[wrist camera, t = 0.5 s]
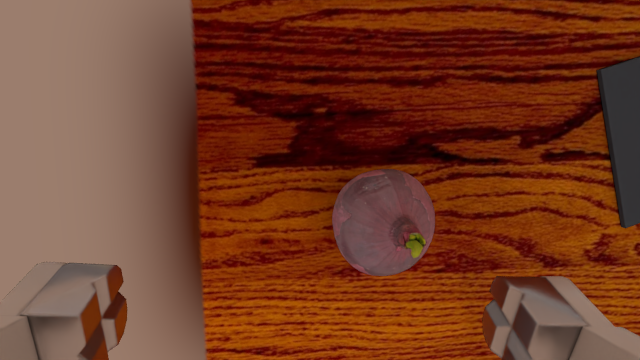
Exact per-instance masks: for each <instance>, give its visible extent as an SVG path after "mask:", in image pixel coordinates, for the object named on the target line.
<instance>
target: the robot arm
mask: <svg viewBox="0 0 640 360" xmlns="http://www.w3.org/2000/svg"><path fill="white" fill-rule="evenodd" d="M122 283H123V277H122V272H121V269H120V268H119V267H118V266H117V265H103V264H83V263H58V262H43V263H39V264H37V265H36V266H35V267H34V268H33V269H32V270H31V271H30V272H29V273H28V274H27V275H26V276H25V277H24V278H23V279H22V280H21V281H20V282H19V283H18V284H17V285H16V286H15V287H14V288H13V289H12V290H11V291H10V292H9V293H8V294H7V296H6V297H5V298H4V299H3V300H2V301H1V302H0V360H109V358H108V351H109V350H111V349H113V348H114V347H115V346H117V345H118V344H119V342H120V340H121V338H122V335H123V333H124V329H125V325H126V321H127V303H126V299H125V298H124V297H123V296H122V295H121V294H120V293H119V292H118V290H119V289H120V287H121V285H122ZM490 292H491V294H492V296H493V298H494V300H492V301H491V302H490V303H489V304H488V305H487V306H486V307H485V310H484V314H483V318H482V324H483V334H484V337H485V340H486V343H487V344H488V346H489V348H490V350H491V351H492V352H494V353H495V354H496V355H498V356H499V357H500V358H502V359H501V360H640V336H638V335H636V334H634V333H632V332H630V331H628V330H626V329H624V328H622V327H614V326H613V325H612V324H611V322H610V321H609V320H608V319H607V318H606V317H605V316H604V315H603V314H602V313H601V312H600V311H599V310H598V309H597V308H596V307H595V306H594V305H593V304H592V303H591V302H590V300H589V299H588V298H587V297H586V296H585V295H584V294H583V293H582V292H581V291H580V290H579V289H578V288H577V287H576V286H575V285H574V284H573V283H572V282H571V281H570V280H569V279H567V278H565V277H563V276H541V277H513V276H497V277H496V278H495V279H494V281H493V282H492V285H491V289H490Z"/></svg>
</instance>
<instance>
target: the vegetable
mask: <svg viewBox="0 0 640 360" xmlns="http://www.w3.org/2000/svg"><path fill="white" fill-rule="evenodd" d="M332 223H333V230H334V236H335V239H336V242H337V245H338V248H339V250H340V252H341V254H342V255H343V257H344V258H345V259H346V260H347V261H348V262H349V263H350V264H351V265H352V266H353V267H354V268H356V269H357V270H359V271H361V272H363V273H366V274H369V275H377V276H388V275H393V274H397V273H400V272H402V271H405V270H407V269H409V268H410V267H412V266H413V265H414V264H415V263H416V262H417V261H418V260H419V259H420V258H421V257H422V256H423V255H424V253H425V252H426V251H427V249H428V247H429V245H430V243H431V240H432V237H433V233H434V228H435V212H434V207H433V204H432V201H431V199H430V196H429V195H428V193H427V192H426V190H425V188H424V187H423V186H422V184H421V183H420V182H419V181H418V180H417V179H415V178H414V177H412V176H411V175H409V174H407V173H405V172H403V171H399V170H394V169H381V170H374V171H369V172H366V173H363V174H360V175H358V176H356V177H355V178H353V179H352V180H351V181H349V182H348V183H347V184H346V185H345V186H344V187H343V188H342V190H341V191H340V193H339V195H338V197H337V199H336V202H335V205H334V210H333V215H332Z"/></svg>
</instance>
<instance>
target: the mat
mask: <svg viewBox="0 0 640 360" xmlns="http://www.w3.org/2000/svg"><path fill="white" fill-rule="evenodd" d="M597 75H598V81H599V87H600V94H601V100H602V107H603V113H604V119H605V126H606V132H607V138H608V145H609V151H610V157H611V164H612V170H613V177H614V183H615V189H616V196H617V202H618V208H619V215H620V221H621V227H623V228H627V227H630V226H633V225H636V224H638V223H640V57H637V58H634V59H630V60H627V61H624V62H621V63H618V64H615V65H612V66H609V67H606V68H603V69H600V70H597Z"/></svg>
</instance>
